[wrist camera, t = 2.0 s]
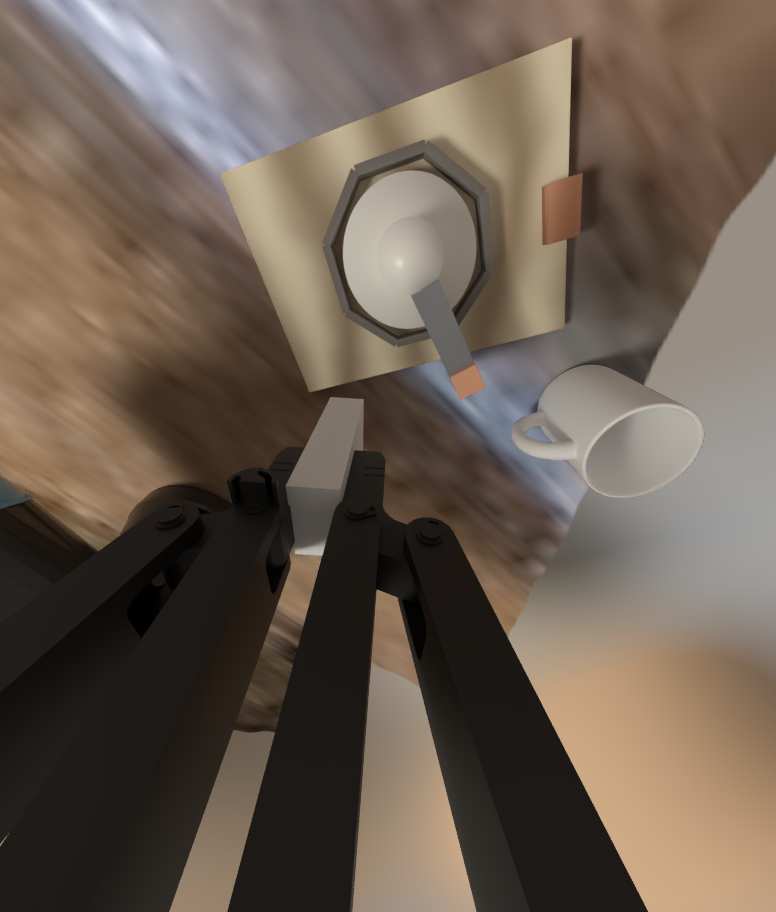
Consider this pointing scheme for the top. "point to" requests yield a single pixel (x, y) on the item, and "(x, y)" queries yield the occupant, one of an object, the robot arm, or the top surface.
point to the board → (463, 167)
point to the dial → (415, 263)
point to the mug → (612, 431)
